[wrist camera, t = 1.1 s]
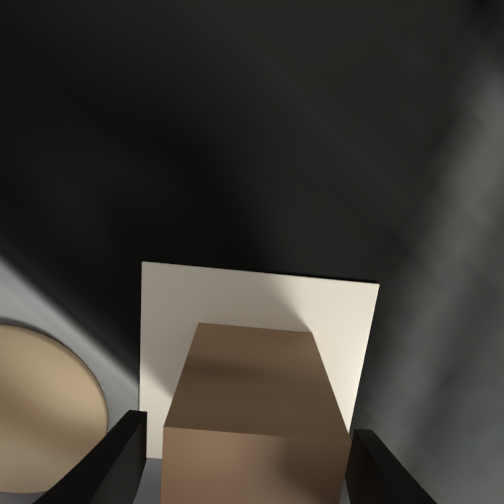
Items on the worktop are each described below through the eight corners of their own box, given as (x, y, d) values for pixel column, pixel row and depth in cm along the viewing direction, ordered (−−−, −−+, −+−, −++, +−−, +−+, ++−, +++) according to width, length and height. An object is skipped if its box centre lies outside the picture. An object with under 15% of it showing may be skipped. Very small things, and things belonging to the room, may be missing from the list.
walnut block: (297, 427, 16) (323, 577, 10) (192, 418, 16) (157, 565, 10) (312, 332, 15) (351, 442, 9) (198, 322, 15) (163, 426, 9)
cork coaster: (109, 492, 17) (105, 500, 17) (-71, 478, 17) (-79, 485, 17) (107, 333, 15) (103, 338, 14) (-100, 315, 15) (-110, 319, 14)
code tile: (339, 471, 17) (340, 473, 17) (139, 455, 17) (138, 457, 16) (378, 283, 14) (379, 284, 14) (142, 261, 14) (141, 262, 14)
